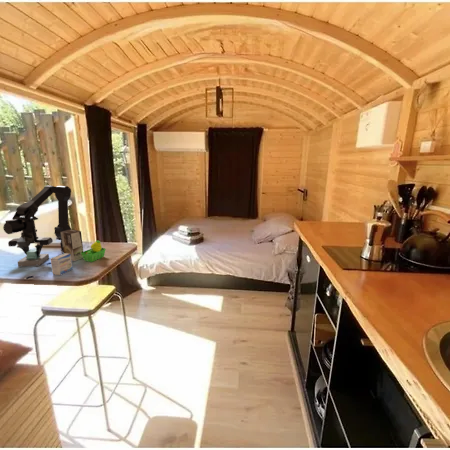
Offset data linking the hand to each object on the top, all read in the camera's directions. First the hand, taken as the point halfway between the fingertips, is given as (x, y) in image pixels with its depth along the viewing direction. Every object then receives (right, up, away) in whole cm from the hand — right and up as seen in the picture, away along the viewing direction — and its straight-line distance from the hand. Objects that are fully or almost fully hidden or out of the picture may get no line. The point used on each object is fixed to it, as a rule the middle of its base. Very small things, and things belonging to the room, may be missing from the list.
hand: (33, 256), depth 138 cm
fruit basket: (+30, -2, +7) cm, 31 cm away
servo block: (0, -2, +1) cm, 2 cm away
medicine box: (+23, -7, -10) cm, 26 cm away
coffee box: (+18, -2, +8) cm, 19 cm away
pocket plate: (0, -3, +1) cm, 3 cm away
